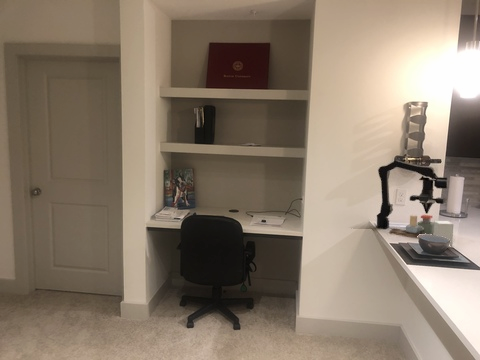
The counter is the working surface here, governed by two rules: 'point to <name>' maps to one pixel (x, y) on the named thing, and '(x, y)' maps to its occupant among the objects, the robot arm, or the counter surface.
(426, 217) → the button
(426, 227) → the green jar
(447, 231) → the supplement box
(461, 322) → the counter surface
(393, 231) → the rail bed
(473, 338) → the counter surface
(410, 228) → the blue and cream block
